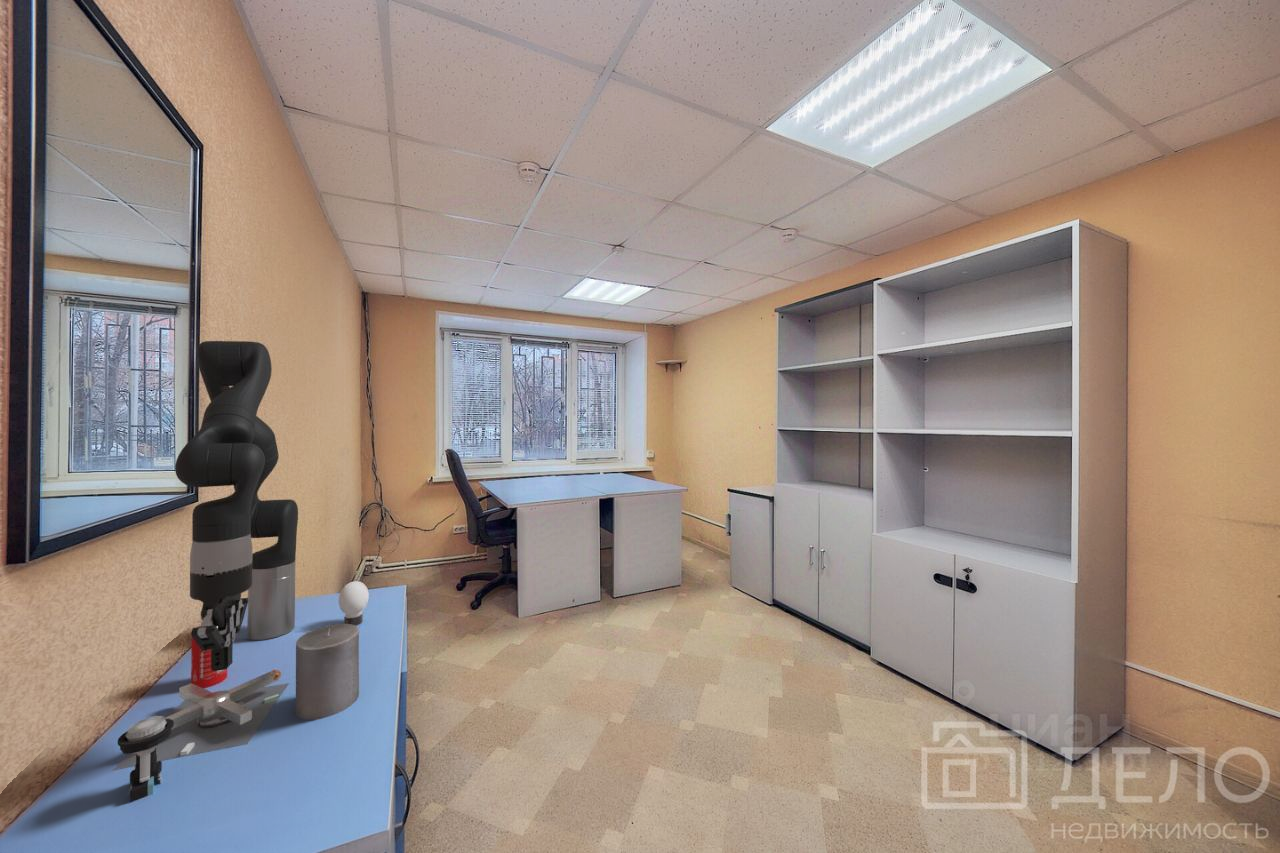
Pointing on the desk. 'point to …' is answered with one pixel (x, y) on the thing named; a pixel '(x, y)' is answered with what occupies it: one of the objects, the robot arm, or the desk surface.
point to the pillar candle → (327, 671)
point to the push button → (145, 753)
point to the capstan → (219, 703)
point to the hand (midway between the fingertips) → (221, 667)
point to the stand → (214, 729)
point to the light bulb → (353, 602)
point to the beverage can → (204, 668)
